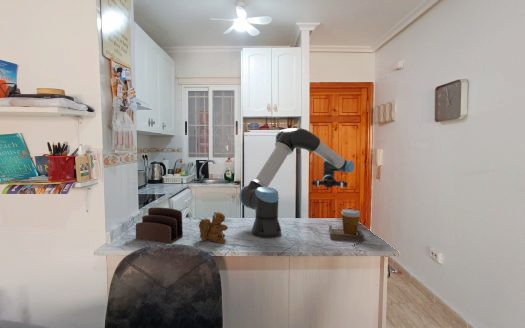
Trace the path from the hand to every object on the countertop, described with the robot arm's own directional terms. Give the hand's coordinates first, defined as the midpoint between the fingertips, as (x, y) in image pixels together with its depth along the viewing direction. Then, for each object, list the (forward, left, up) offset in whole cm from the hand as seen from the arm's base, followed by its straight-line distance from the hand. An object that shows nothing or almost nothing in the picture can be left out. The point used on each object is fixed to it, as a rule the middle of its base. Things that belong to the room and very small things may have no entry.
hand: (330, 185), depth 152 cm
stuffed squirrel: (-67, -5, -23) cm, 71 cm away
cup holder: (-1, -17, -23) cm, 29 cm away
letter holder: (-92, +5, -24) cm, 95 cm away
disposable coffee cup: (+1, -18, -23) cm, 29 cm away
